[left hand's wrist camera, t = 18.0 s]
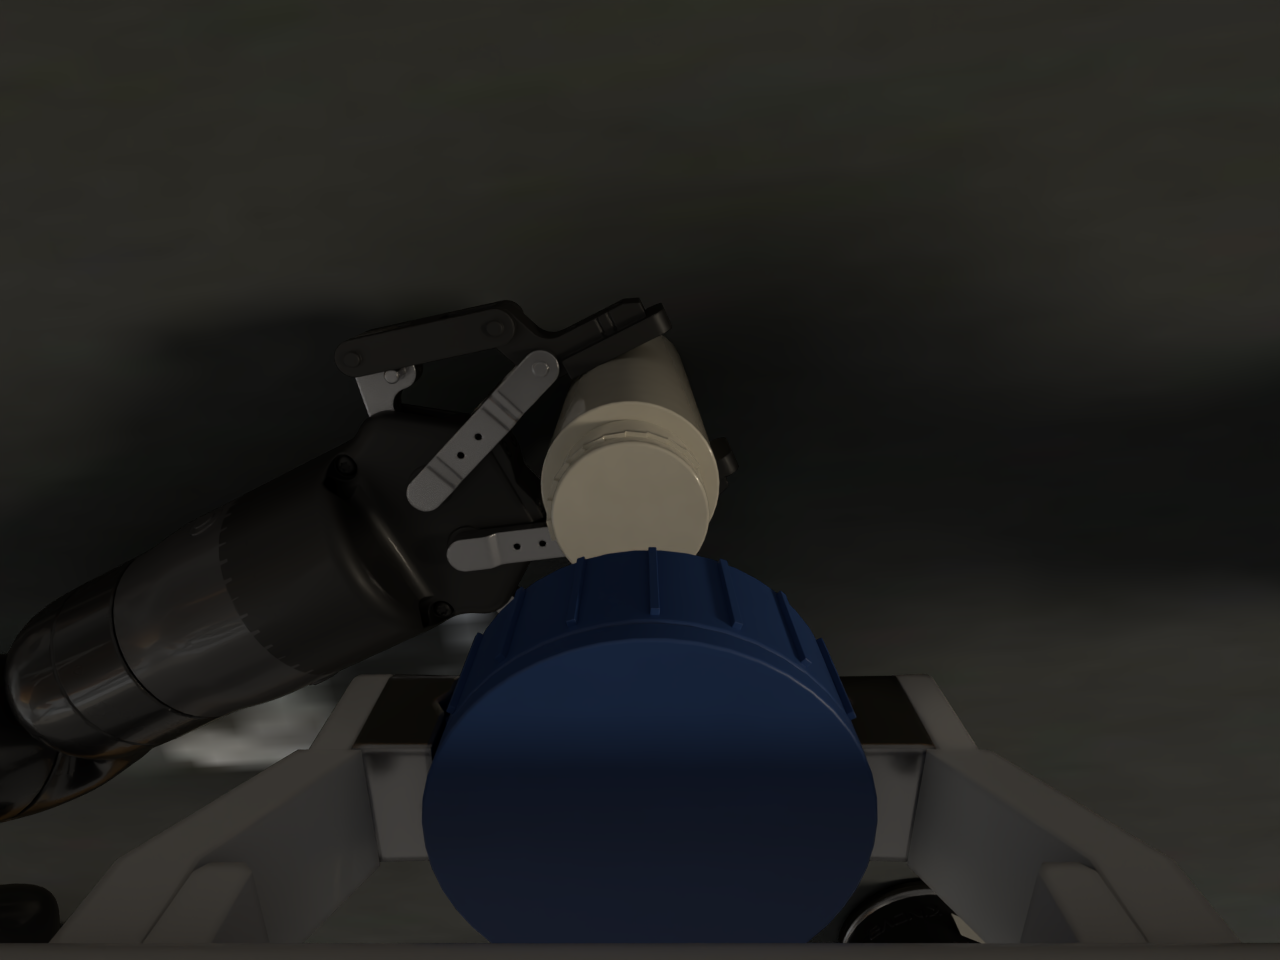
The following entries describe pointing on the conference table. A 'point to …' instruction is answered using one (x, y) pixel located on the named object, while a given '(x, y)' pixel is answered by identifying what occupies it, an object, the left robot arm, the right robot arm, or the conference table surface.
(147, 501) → the conference table surface
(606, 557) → the lid
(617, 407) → the jar
